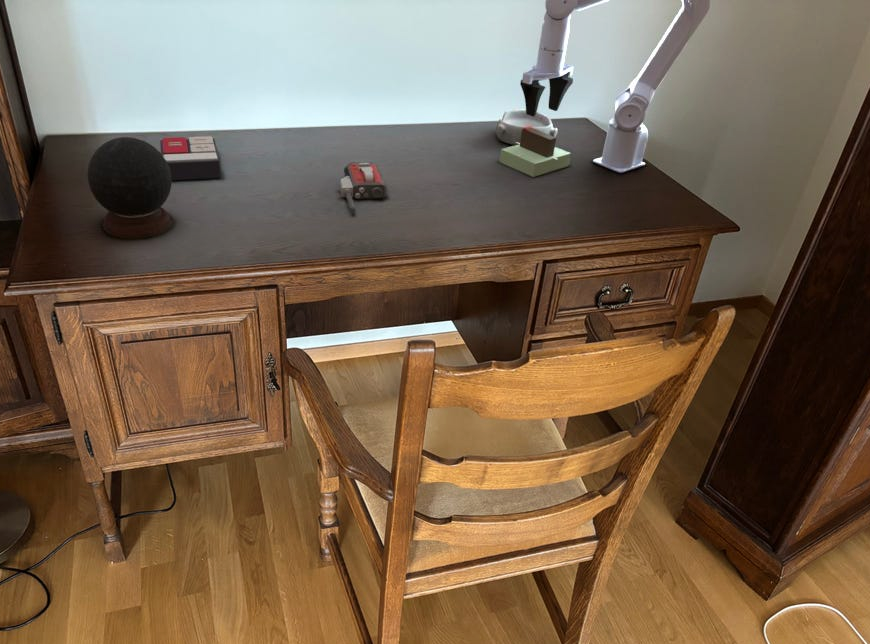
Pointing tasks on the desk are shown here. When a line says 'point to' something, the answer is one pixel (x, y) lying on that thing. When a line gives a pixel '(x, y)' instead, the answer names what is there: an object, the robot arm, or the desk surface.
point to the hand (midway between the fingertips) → (541, 112)
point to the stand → (533, 160)
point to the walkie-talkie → (362, 182)
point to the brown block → (537, 141)
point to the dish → (522, 125)
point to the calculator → (191, 157)
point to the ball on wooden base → (131, 187)
